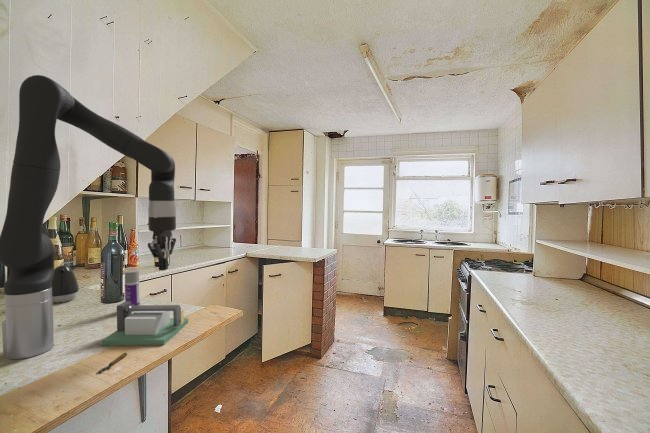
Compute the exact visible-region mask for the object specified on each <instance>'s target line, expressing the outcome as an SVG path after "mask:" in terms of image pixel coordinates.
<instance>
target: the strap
mask: <svg viewBox="0 0 650 433" xmlns="http://www.w3.org/2000/svg"><path fill="white" fill-rule="evenodd" d="M181 309H182V307H181V305H180V304H162V305H161V304H160V305H159V304H158V305H157V304H155V305H154V304H151V305H145V304H144V305H141V304H140V305H134V304H132V305H130V306H128V307H126V308H125V309H124V312H125V313H127V312H128V311H132V312H136V311H170V312H172V313H173V316H172V318H173V321H174V326H178V325H179V324H180V323H181Z"/></svg>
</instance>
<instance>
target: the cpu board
mask: <svg viewBox="0 0 650 433" xmlns="http://www.w3.org/2000/svg"><path fill="white" fill-rule="evenodd" d="M130 305H131V302H125V301H124V302H122V303H120V304H117V305H116V328H117V329H116V330H115V331H114V332H112V333H111V334H109V335H107V336H106V337H105V338H103V339H101V346H165V345H166V344H167V343H168V342H169V341H170V340H171V339H172V338H173V337H174V336H176V335H177V334H178V333H179V332H180V331H181V330H183V328H184V327H186V325H187V324H189V318H188V317H185V318H184V308H181V323H180V324H179V325H178V326H174V321H173V317H172V318H171V316H170V315H171V314H170V313H171V311H134V312H133V311H128V312H127V313H125V312H124V309H125V308H126V307H128V306H130ZM132 312H133V313H132Z"/></svg>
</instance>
